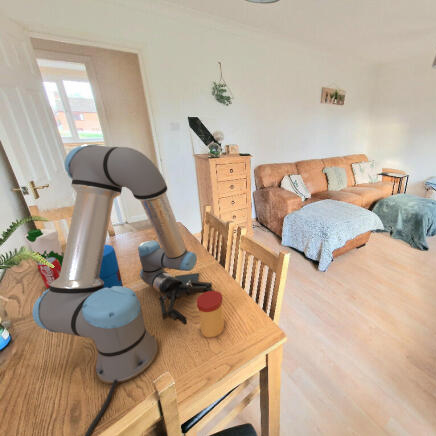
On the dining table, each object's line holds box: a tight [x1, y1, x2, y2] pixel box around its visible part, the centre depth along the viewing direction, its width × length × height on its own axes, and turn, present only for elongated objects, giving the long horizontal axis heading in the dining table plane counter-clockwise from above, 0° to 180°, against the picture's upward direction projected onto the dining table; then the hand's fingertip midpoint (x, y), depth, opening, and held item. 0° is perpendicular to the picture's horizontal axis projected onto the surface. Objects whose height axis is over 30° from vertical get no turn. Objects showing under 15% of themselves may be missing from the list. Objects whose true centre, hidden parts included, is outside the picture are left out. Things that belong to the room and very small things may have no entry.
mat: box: [174, 272, 200, 295], centre depth 104 cm, size 14×10×1 cm
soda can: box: [37, 257, 61, 289], centre depth 99 cm, size 6×6×12 cm
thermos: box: [99, 244, 124, 289], centre depth 84 cm, size 11×11×25 cm
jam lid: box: [196, 290, 224, 312], centre depth 79 cm, size 8×8×2 cm
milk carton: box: [23, 228, 65, 267], centre depth 108 cm, size 9×9×20 cm
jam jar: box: [197, 304, 225, 338], centre depth 81 cm, size 8×8×13 cm
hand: (203, 309), depth 84 cm, fingers open, 13 cm apart
